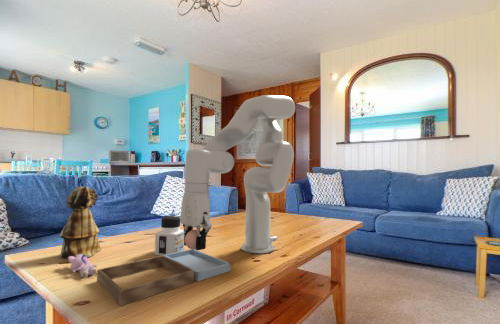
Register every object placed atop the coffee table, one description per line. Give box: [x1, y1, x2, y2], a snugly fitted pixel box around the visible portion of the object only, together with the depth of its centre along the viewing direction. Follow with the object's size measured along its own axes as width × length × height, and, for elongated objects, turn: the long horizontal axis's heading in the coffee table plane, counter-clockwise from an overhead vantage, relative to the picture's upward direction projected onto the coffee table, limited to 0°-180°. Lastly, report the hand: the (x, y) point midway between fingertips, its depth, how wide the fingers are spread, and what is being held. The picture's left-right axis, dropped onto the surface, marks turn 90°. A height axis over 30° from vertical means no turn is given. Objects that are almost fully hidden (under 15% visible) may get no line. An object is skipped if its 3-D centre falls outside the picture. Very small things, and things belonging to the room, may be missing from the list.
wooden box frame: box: [96, 255, 195, 306], centre depth 69 cm, size 18×17×3 cm
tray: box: [164, 248, 231, 282], centre depth 81 cm, size 11×20×2 cm, turn 45°
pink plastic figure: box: [67, 254, 98, 280], centre depth 76 cm, size 6×6×15 cm
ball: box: [185, 229, 198, 250], centre depth 81 cm, size 6×6×6 cm
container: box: [154, 215, 185, 256], centre depth 95 cm, size 8×8×13 cm
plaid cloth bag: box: [58, 185, 102, 259], centre depth 91 cm, size 14×14×25 cm
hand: (194, 246), depth 81 cm, fingers closed on ball, 5 cm apart
